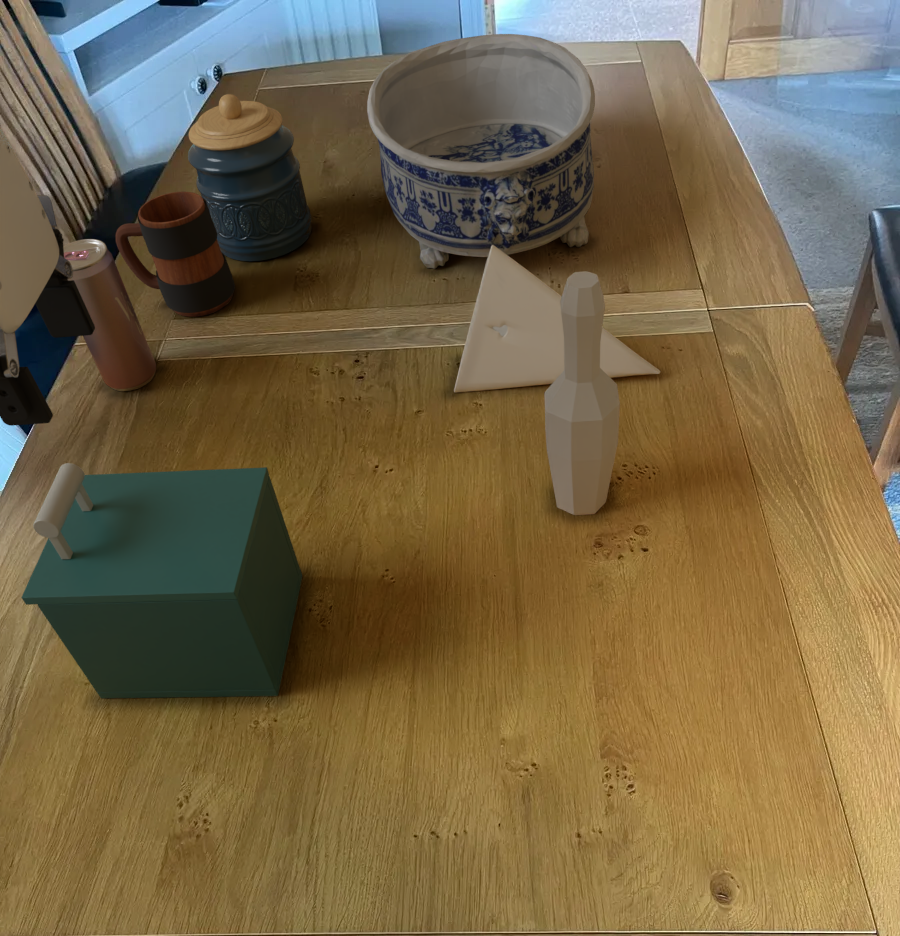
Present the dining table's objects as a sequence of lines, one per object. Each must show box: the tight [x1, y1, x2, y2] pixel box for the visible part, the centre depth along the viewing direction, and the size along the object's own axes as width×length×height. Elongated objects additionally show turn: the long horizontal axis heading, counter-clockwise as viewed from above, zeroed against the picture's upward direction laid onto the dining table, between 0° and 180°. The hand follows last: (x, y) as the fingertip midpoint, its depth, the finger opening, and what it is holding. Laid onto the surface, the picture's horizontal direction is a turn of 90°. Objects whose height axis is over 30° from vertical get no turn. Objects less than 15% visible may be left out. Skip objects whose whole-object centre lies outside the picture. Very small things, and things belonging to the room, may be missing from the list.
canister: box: [187, 93, 313, 262], centre depth 116 cm, size 13×13×18 cm
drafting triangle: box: [453, 245, 661, 393], centre depth 96 cm, size 15×6×20 cm
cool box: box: [37, 475, 303, 699], centre depth 75 cm, size 15×13×12 cm
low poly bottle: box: [544, 271, 621, 516], centre depth 77 cm, size 6×6×22 cm
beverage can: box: [63, 238, 157, 392], centre depth 99 cm, size 6×6×15 cm
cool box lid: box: [21, 462, 270, 606], centre depth 68 cm, size 16×13×5 cm
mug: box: [115, 191, 236, 318], centre depth 110 cm, size 9×12×12 cm
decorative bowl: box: [366, 33, 596, 270], centre depth 115 cm, size 42×27×15 cm, turn 9°
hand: (53, 375), depth 64 cm, fingers open, 9 cm apart
